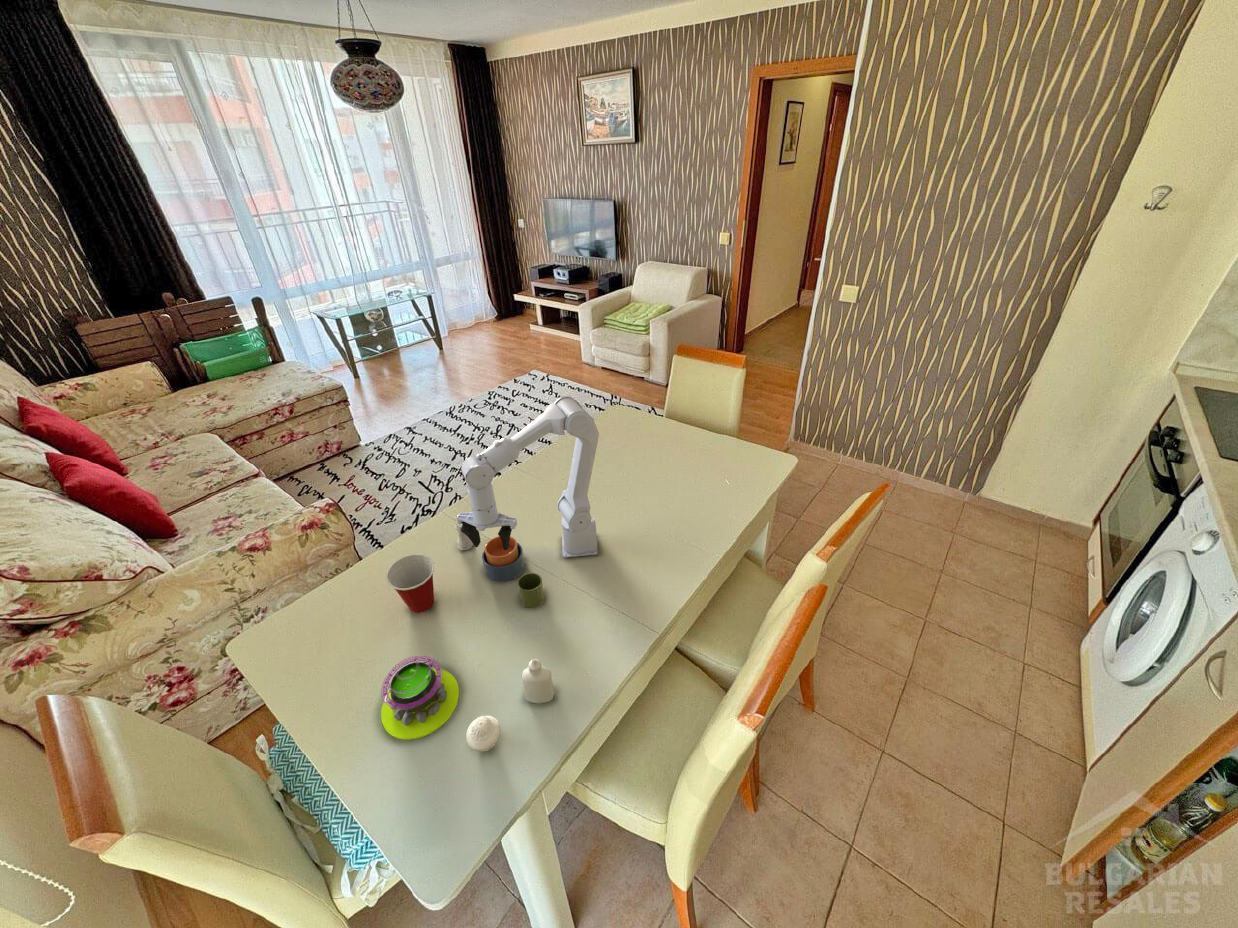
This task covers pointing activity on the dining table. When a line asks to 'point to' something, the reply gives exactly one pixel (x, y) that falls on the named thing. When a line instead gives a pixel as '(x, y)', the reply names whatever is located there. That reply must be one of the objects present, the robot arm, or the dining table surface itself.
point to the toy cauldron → (418, 699)
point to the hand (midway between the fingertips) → (492, 546)
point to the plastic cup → (413, 581)
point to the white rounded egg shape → (483, 733)
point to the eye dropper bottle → (537, 683)
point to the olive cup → (531, 590)
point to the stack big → (505, 568)
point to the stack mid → (501, 552)
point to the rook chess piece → (463, 539)
